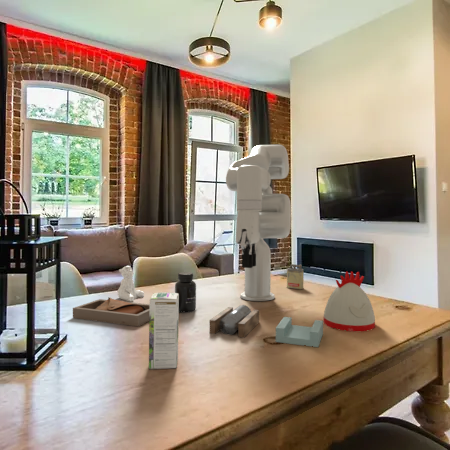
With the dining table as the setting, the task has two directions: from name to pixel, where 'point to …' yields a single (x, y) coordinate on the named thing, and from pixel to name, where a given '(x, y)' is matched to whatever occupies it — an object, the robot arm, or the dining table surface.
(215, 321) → the wooden blocks
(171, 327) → the syrup box
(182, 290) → the supplement bottle
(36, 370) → the dining table surface
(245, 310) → the grey cylinder
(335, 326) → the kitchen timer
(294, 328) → the cradle
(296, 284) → the jerry can
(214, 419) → the dining table surface
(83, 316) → the valet tray rim
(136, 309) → the sunglasses case
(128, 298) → the white creature statuette
